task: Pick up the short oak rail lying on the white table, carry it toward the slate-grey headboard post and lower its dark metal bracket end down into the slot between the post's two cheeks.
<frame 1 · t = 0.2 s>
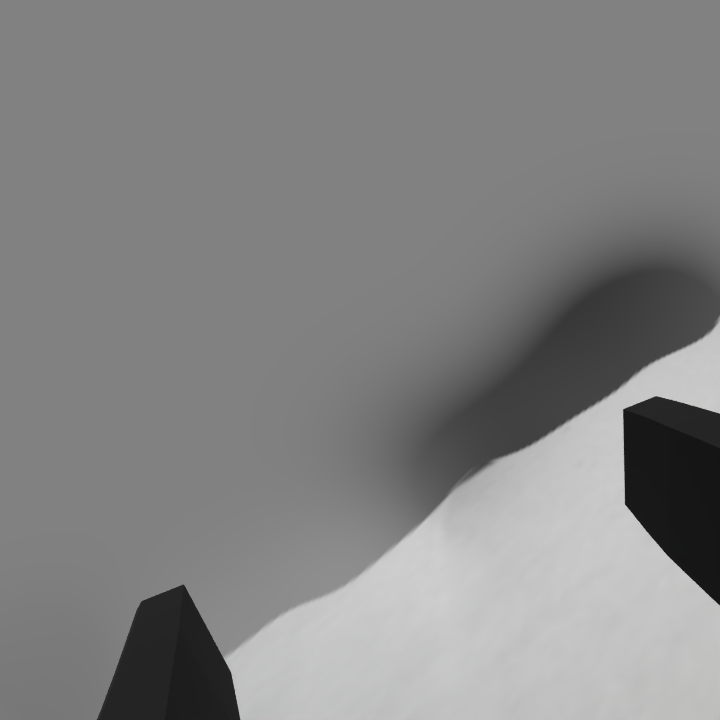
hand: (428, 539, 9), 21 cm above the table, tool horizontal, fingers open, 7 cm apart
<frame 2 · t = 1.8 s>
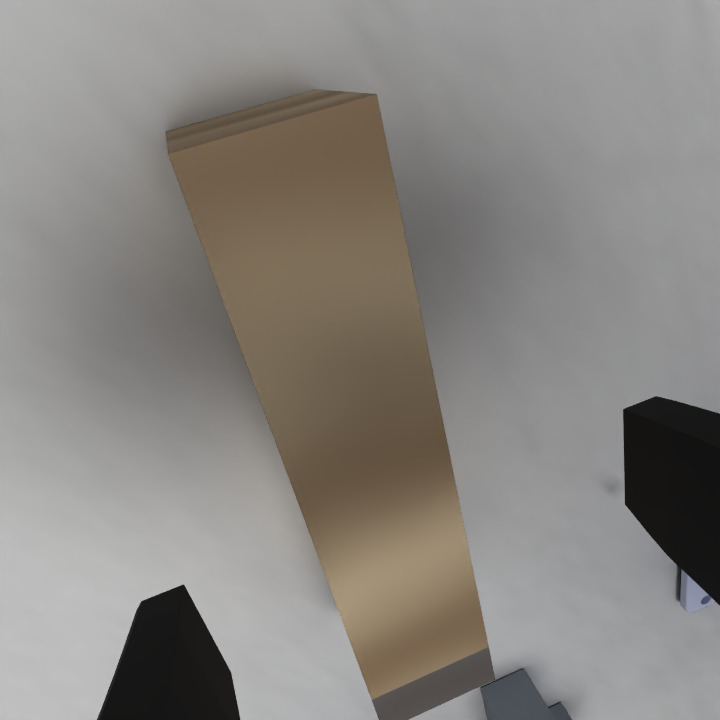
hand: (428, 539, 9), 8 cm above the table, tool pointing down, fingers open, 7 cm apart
rail: (331, 401, 17), on the table
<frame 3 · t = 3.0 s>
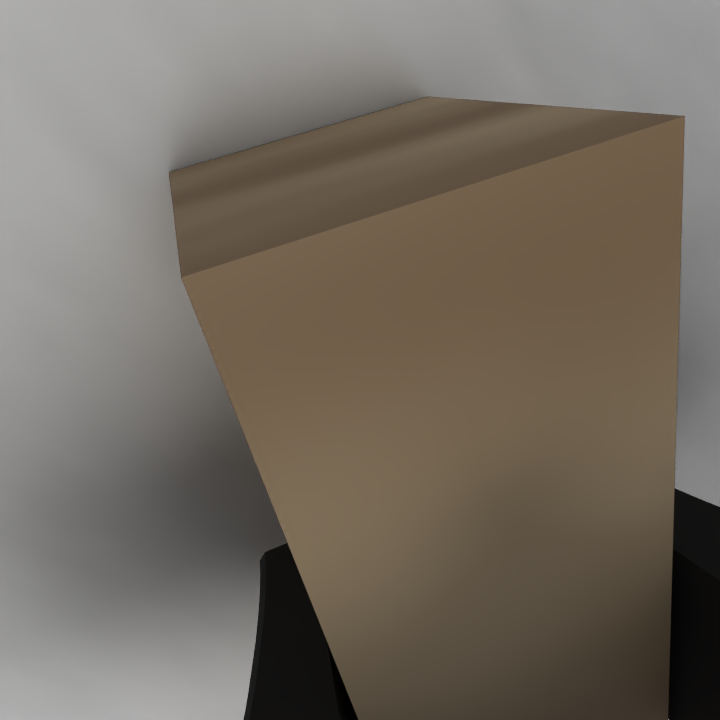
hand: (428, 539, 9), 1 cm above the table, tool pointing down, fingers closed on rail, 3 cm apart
rail: (416, 564, 12), on the table, touching gripper
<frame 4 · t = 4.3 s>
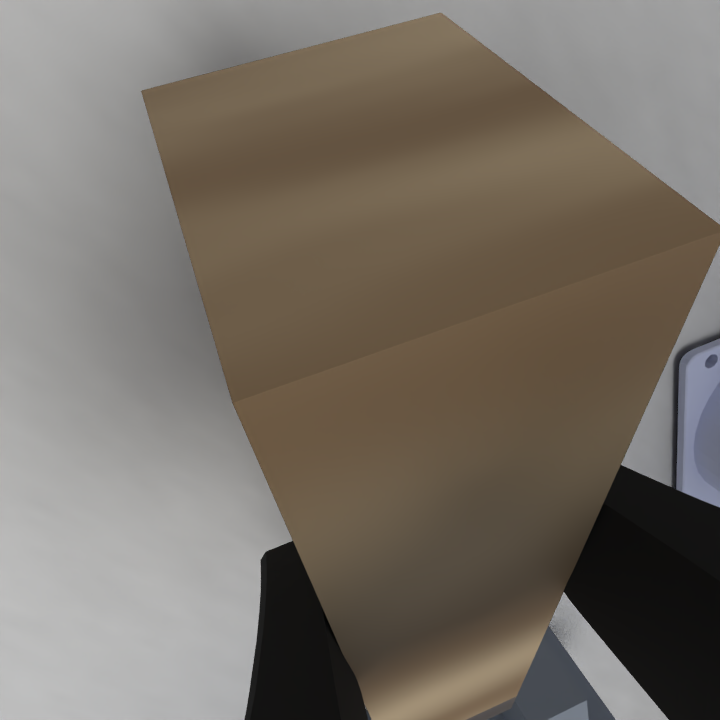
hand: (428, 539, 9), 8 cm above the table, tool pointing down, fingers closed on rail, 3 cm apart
rail: (364, 440, 13), point 5 cm above the table, tilted 21°, touching gripper
headboard: (417, 687, 24), on the table
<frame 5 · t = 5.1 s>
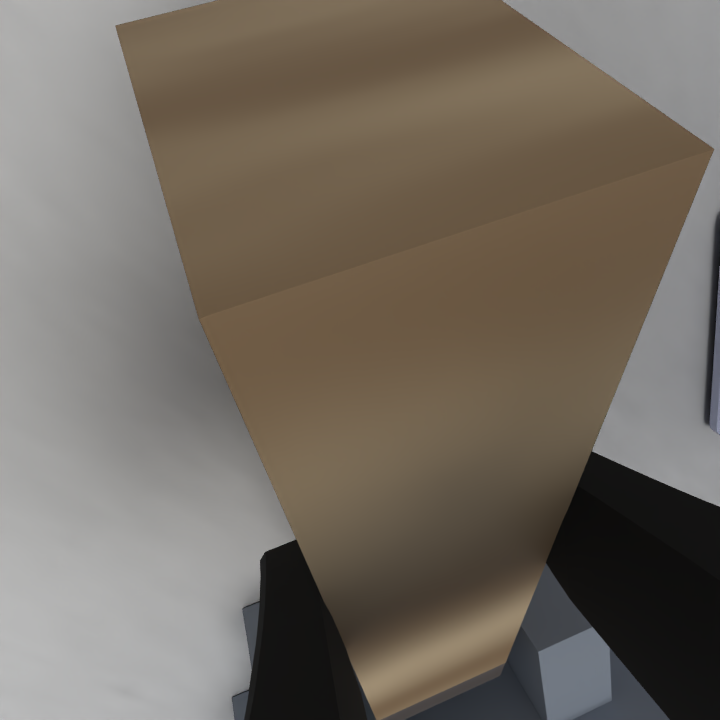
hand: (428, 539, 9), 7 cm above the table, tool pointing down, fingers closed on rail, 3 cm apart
rail: (353, 406, 13), point 3 cm above the table, tilted 23°, touching gripper
headboard: (401, 624, 21), on the table
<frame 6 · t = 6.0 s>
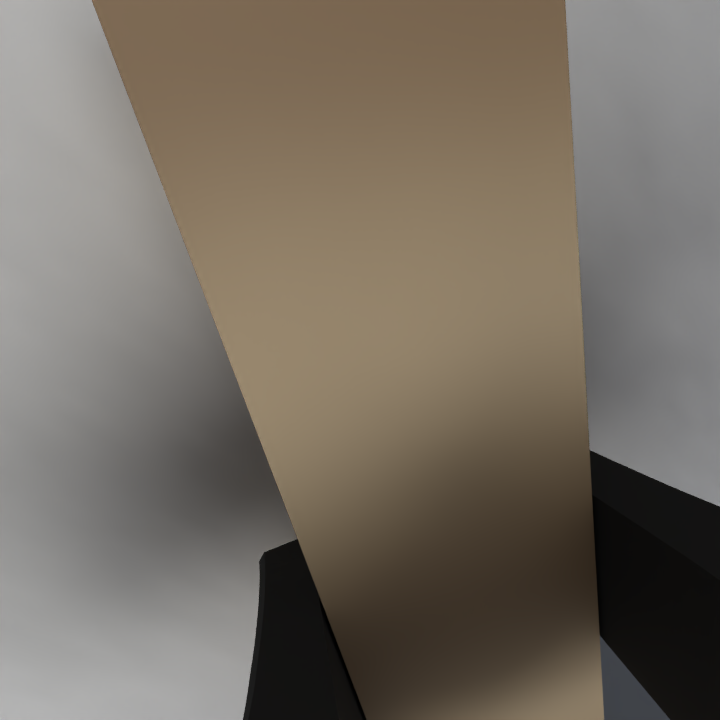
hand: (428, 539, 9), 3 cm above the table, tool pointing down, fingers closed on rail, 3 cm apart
rail: (376, 456, 12), on the table, touching gripper
when the fingers open (3 cm above the table, at t = 6.4 s): rail stays where it is, on the table.
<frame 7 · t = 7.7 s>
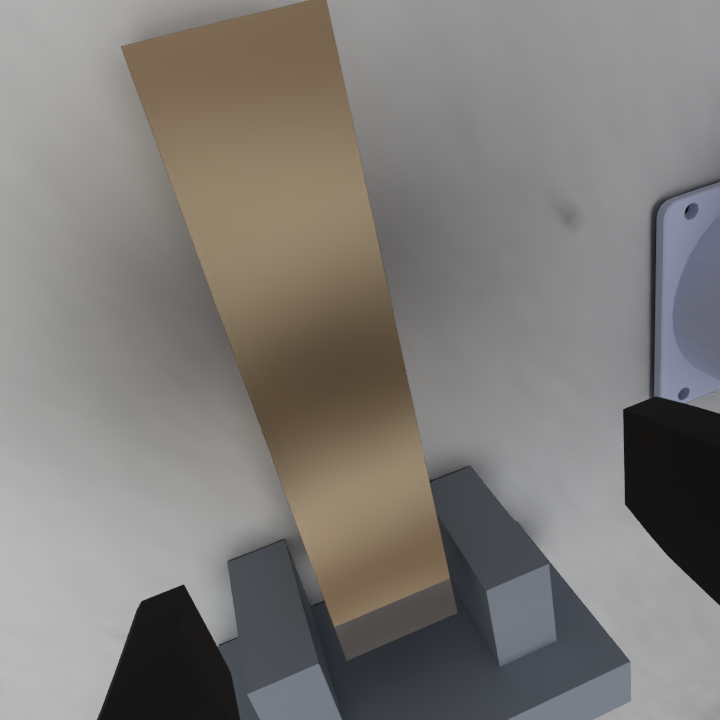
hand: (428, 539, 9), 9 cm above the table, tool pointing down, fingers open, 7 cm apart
rail: (298, 338, 18), on the table
headboard: (374, 581, 23), on the table
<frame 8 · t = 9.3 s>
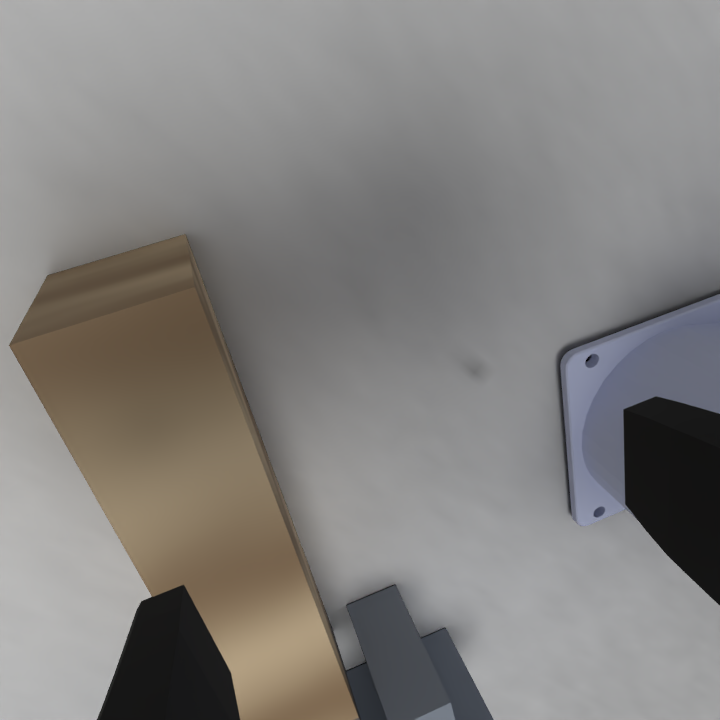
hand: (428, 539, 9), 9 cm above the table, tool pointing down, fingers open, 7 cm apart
rail: (220, 491, 19), on the table
headboard: (308, 688, 24), on the table
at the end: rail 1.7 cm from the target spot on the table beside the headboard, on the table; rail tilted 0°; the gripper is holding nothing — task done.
